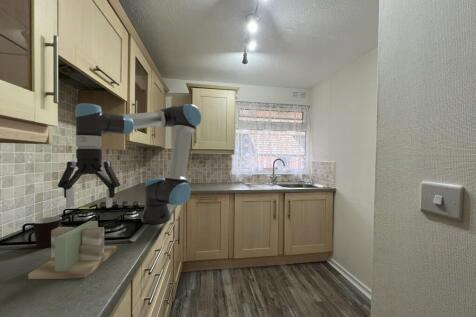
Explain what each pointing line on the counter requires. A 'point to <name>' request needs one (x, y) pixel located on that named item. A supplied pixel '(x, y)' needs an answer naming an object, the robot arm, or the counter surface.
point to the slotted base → (73, 270)
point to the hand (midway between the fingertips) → (89, 206)
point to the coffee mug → (45, 230)
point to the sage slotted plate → (69, 246)
